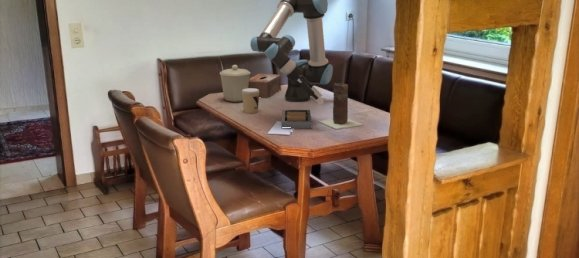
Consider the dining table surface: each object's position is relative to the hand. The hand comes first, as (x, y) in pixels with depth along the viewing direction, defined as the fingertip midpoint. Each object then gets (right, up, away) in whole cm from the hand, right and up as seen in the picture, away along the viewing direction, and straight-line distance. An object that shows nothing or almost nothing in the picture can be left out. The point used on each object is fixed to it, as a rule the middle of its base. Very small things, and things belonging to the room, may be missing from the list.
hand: (321, 100), depth 278 cm
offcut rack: (-12, -11, +6) cm, 17 cm away
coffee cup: (-37, -5, +28) cm, 46 cm away
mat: (+10, -12, +3) cm, 15 cm away
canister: (-48, +3, +54) cm, 72 cm away
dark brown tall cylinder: (+10, -11, +3) cm, 15 cm away
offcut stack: (-12, -13, 0) cm, 18 cm away
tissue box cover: (-32, +8, +72) cm, 79 cm away
